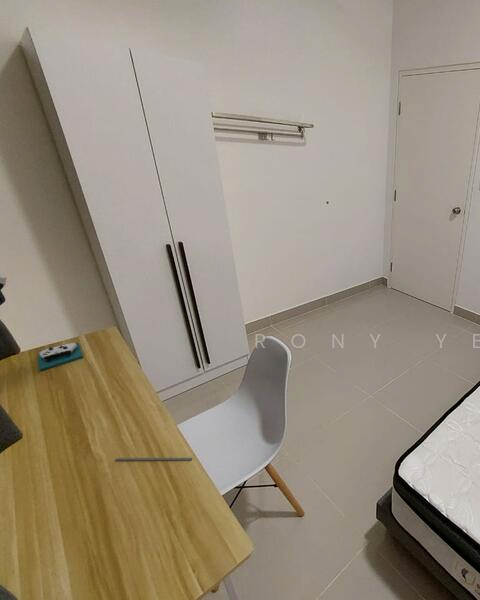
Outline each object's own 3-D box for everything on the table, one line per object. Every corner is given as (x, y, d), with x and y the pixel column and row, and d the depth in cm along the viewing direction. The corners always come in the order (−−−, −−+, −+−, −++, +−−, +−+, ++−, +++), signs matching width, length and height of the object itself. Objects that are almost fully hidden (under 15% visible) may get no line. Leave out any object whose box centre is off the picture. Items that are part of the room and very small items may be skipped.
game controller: (76, 343, 122) (71, 339, 117) (80, 356, 121) (76, 352, 117) (40, 352, 116) (33, 348, 112) (44, 366, 116) (37, 363, 111)
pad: (40, 371, 111) (39, 369, 110) (38, 356, 117) (37, 354, 117) (83, 357, 118) (82, 355, 118) (79, 344, 125) (78, 342, 124)
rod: (191, 461, 85) (191, 459, 85) (115, 461, 84) (114, 460, 84) (193, 458, 86) (192, 457, 86) (117, 459, 85) (116, 457, 84)
